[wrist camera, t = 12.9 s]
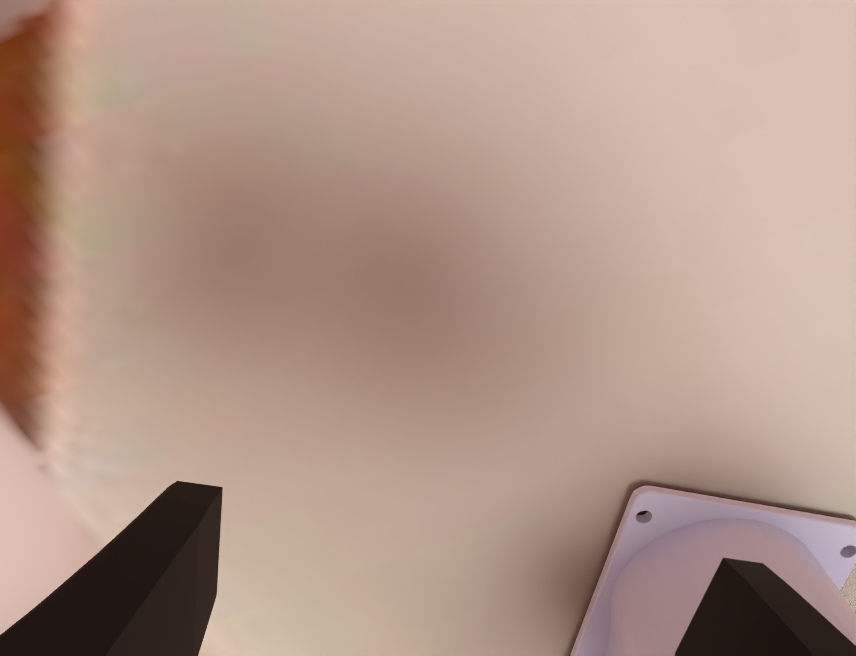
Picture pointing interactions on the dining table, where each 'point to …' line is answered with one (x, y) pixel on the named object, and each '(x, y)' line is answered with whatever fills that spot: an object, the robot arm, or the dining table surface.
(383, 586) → the dining table surface
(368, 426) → the dining table surface
